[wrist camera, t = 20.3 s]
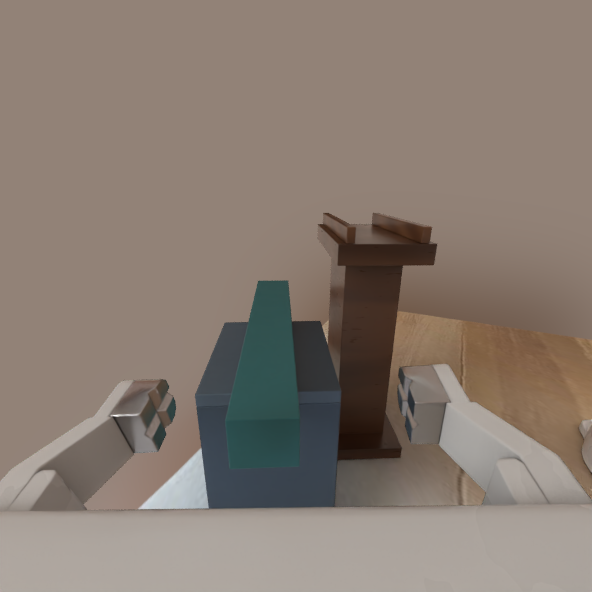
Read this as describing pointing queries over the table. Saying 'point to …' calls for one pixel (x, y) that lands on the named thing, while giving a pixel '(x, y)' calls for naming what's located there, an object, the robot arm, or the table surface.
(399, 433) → the table surface
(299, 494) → the slate crate
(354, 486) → the table surface
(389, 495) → the table surface
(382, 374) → the walnut stand
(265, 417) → the teal block
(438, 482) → the table surface
